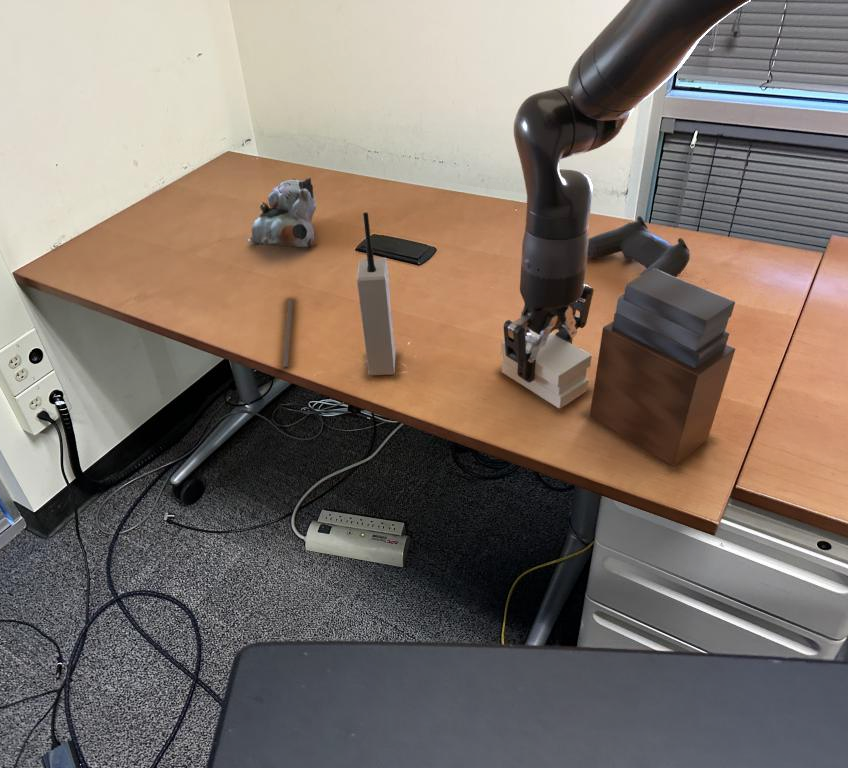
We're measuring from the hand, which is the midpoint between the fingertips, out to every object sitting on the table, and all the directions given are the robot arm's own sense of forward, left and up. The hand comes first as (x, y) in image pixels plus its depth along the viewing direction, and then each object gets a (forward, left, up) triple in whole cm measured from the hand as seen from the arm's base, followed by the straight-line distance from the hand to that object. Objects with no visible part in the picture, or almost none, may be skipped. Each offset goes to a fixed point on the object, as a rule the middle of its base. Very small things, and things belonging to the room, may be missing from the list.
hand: (544, 367), depth 93 cm
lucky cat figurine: (+52, -35, -3) cm, 63 cm away
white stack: (0, 0, -2) cm, 2 cm away
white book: (0, 0, +1) cm, 1 cm away
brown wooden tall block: (-13, +7, -2) cm, 15 cm away
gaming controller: (-12, -31, -3) cm, 33 cm away
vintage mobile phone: (+23, 0, -3) cm, 23 cm away
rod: (+40, -6, -3) cm, 41 cm away
